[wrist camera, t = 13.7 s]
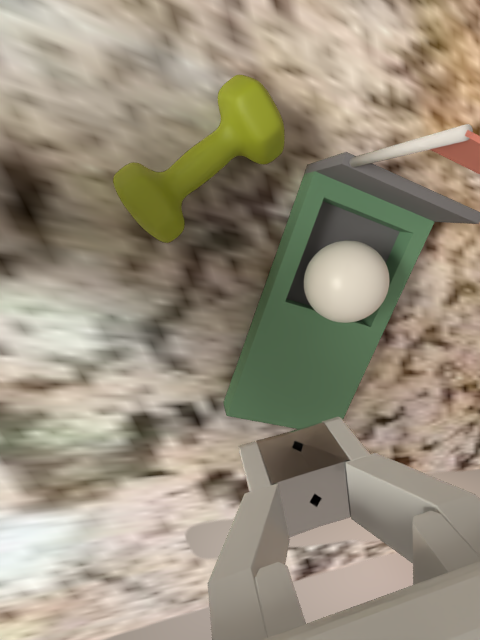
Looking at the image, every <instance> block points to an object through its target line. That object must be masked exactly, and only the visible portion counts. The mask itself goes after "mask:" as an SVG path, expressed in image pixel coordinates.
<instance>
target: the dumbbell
mask: <svg viewBox="0 0 480 640" xmlns="http://www.w3.org/2000/svg"><path fill="white" fill-rule="evenodd" d="M218 106H219V110H220V115H221V123H220V125H219V127H218V128H217V130H216V131H214V132H213V133H212V134H210V135H209V136H207V137H206V138H204V139H203V140H202V141H200V142H199V143H197V144H196V145H195V146H193V147H192V148H191V149H190V150H188V151H187V152H186V153H185V154H184V155H183V156H182V157H181V158H180V159H178V160H177V161H176V162H175V163H174V164H173V165H172V166H171V167H170V168H169V169H168V170H166V171H164V172H154V171H152V170H150V169H148V168H146V167H145V166H143V165H141V164H139V163H129V164H127V165H126V166H124V167H123V168H122V169H120V170H119V171H118V172H117V173H116V174H115V175H114V178H113V183H114V187H115V189H116V192H117V194H118V196H119V198H120V200H121V201H122V203H123V205H124V206H125V207H126V209H127V210H128V211H129V213H130V214H131V215H132V216H133V218H134V219H135V220H136V221H137V222H138V224H139V225H140V226H141V227H142V228H143V229H144V230H146V231H147V232H148V233H149V234H151V235H152V236H153V237H155V238H156V239H158V240H159V241H161V242H165V243H169V242H171V241H173V240H174V239H175V238H177V237H178V236H179V235H180V234H181V233H182V232H183V230H184V225H185V224H184V217H183V213H182V208H181V206H182V201H183V199H184V198H185V197H186V196H187V195H188V194H190V193H191V192H193V191H194V190H196V189H197V188H198V187H200V186H201V185H202V184H204V183H205V182H206V181H208V180H209V179H210V178H211V177H213V176H214V175H215V174H216V173H217V172H219V171H220V170H221V169H222V168H223V167H224V166H225V165H226V164H227V163H228V162H229V161H230V160H232V159H233V158H234V157H236V156H244V157H247V158H248V159H250V160H252V161H253V162H256V163H258V164H268V163H270V162H272V161H273V160H274V159H276V158H277V157H278V156H279V155H280V154H281V153H282V151H283V149H284V124H283V120H282V118H281V115H280V113H279V111H278V109H277V107H276V105H275V103H274V101H273V100H272V98H271V96H270V94H269V93H268V91H267V90H266V89H265V87H264V86H263V85H262V84H261V83H260V82H259V81H257V80H255V79H253V78H250V77H248V76H244V75H236V76H234V77H233V78H231V79H230V80H229V81H228V82H226V83H225V84H224V85H223V86H222V88H221V89H220V91H219V93H218Z"/></svg>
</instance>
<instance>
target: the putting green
mask: <svg viewBox="0 0 480 640" xmlns="http://www.w3.org/2000/svg"><path fill="white" fill-rule="evenodd" d="M429 149H430V150H432V151H434V152H436V153H438V154H440V155H442V156H444V157H446V158H448V159H450V160H452V161H454V162H456V163H458V164H460V165H462V166H464V167H466V168H468V169H470V170H472V171H474V172H476V173H478V174H480V136H478V135H476V134H474V133H473V129H472V127H471V125H469V124H466V125H462V126H459V127H455V128H452V129H449V130H445V131H442V132H438V133H435V134H431V135H428V136H425V137H421V138H418V139H414V140H411V141H407V142H404V143H401V144H397V145H394V146H390V147H387V148H383V149H380V150H377V151H373V152H370V153H366V154H363V155H359V156H354V155H352V154H350V153H348V152H344V153H341V154H339V155H336V156H333V157H330V158H327V159H324V160H321V161H318V162H315V163H312V164H309V165H307V168H306V171H305V174H304V176H303V179H302V182H301V185H300V188H299V190H298V193H297V196H296V199H295V202H294V205H293V207H292V210H291V213H290V216H289V219H288V222H287V224H286V227H285V230H284V233H283V236H282V239H281V241H280V244H279V247H278V250H277V253H276V256H275V258H274V261H273V264H272V267H271V270H270V272H269V275H268V278H267V281H266V284H265V287H264V289H263V292H262V295H261V298H260V301H259V304H258V306H257V309H256V312H255V315H254V318H253V321H252V323H251V326H250V329H249V332H248V335H247V338H246V340H245V343H244V346H243V349H242V352H241V355H240V357H239V360H238V363H237V366H236V369H235V371H234V374H233V377H232V380H231V383H230V386H229V388H228V391H227V394H226V397H225V400H224V407H225V411H226V415H227V416H231V417H236V418H241V419H247V420H252V421H258V422H263V423H269V424H274V425H280V426H285V427H291V428H296V429H300V428H304V427H307V426H310V425H314V424H317V423H320V422H322V421H325V420H328V419H332V418H335V417H340V418H342V420H343V418H344V416H345V414H346V412H347V409H348V407H349V405H350V403H351V401H352V399H353V396H354V394H355V392H356V390H357V388H358V386H359V384H360V381H361V379H362V377H363V375H364V373H365V371H366V368H367V366H368V364H369V362H370V360H371V358H372V356H373V353H374V351H375V349H376V347H377V345H378V343H379V340H380V338H381V336H382V334H383V332H384V330H385V328H386V325H387V323H388V321H389V319H390V317H391V315H392V312H393V310H394V308H395V306H396V304H397V302H398V299H399V297H400V295H401V293H402V291H403V289H404V287H405V284H406V282H407V280H408V278H409V276H410V274H411V271H412V269H413V267H414V265H415V263H416V261H417V259H418V256H419V254H420V252H421V250H422V248H423V246H424V243H425V241H426V239H427V237H428V235H429V233H430V230H431V228H432V226H433V224H434V222H451V223H471V224H479V222H480V212H478V211H476V210H474V209H472V208H469V207H467V206H465V205H463V204H460V203H458V202H456V201H454V200H452V199H449V198H447V197H445V196H443V195H441V194H438V193H436V192H434V191H432V190H429V189H427V188H425V187H423V186H421V185H418V184H416V183H414V182H412V181H410V180H407V179H405V178H403V177H401V176H399V175H396V174H394V173H392V172H390V171H387V170H385V169H383V168H381V167H379V166H376V165H374V164H372V163H374V162H378V161H383V160H387V159H391V158H395V157H400V156H404V155H408V154H412V153H417V152H421V151H425V150H429ZM339 241H357V242H361V243H364V244H366V245H368V246H370V247H371V248H373V249H374V250H376V251H377V252H378V253H379V254H380V255H381V257H382V258H383V260H384V261H385V263H386V265H387V268H388V272H389V288H388V292H387V295H386V298H385V299H384V301H383V303H382V304H381V306H380V307H379V308H378V309H377V310H376V311H375V312H374V313H372V314H371V315H369V316H368V317H366V318H364V319H362V320H359V321H355V322H349V323H341V322H335V321H331V320H329V319H327V318H324V317H323V316H321V315H320V314H318V313H317V312H316V311H315V310H314V309H313V308H312V306H311V305H310V303H309V302H308V300H307V297H306V294H305V291H304V275H305V271H306V268H307V266H308V264H309V262H310V261H311V259H312V258H313V257H314V256H315V254H316V253H317V252H319V251H320V250H321V249H322V248H324V247H326V246H327V245H330V244H332V243H335V242H339Z"/></svg>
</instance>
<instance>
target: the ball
mask: <svg viewBox="0 0 480 640" xmlns="http://www.w3.org/2000/svg"><path fill="white" fill-rule="evenodd" d="M388 288H389V272H388V268H387V265H386V263H385V261H384V260H383V258H382V257H381V255H380V254H379V253H378V252H377V251H376V250H374V249H373V248H371V247H370V246H368V245H366V244H364V243H361V242H357V241H339V242H335V243H332V244H330V245H327V246H326V247H324V248H322V249H321V250H320V251H319V252H317V253H316V254H315V256H314V257H313V258H312V259H311V261H310V262H309V264H308V266H307V268H306V271H305V275H304V291H305V294H306V297H307V300H308V302H309V303H310V305H311V306H312V308H313V309H314V310H315V311H316V312H317V313H318V314H320V315H321V316H323V317H324V318H327V319H329V320H331V321H335V322H341V323H349V322H355V321H359V320H362V319H364V318H366V317H368V316H369V315H371V314H372V313H374V312H375V311H376V310H377V309H378V308H379V307H380V306H381V304H382V303H383V301H384V299H385V298H386V295H387V292H388Z"/></svg>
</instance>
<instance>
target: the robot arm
mask: <svg viewBox="0 0 480 640" xmlns="http://www.w3.org/2000/svg"><path fill="white" fill-rule="evenodd" d="M239 452H240V456H241V460H242V464H243V468H244V472H245V476H246V480H247V484H248V488H249V492H248V493H245V494H244V497H243V499H242V502H241V504H240V506H239V509H238V511H237V514H236V516H235V518H234V521H233V523H232V526H231V528H230V531H229V533H228V535H227V538H226V540H225V543H224V545H223V548H222V550H221V552H220V555H219V557H218V560H217V562H216V564H215V567H214V569H213V572H212V574H211V577H210V579H209V581H208V594H209V607H210V619H211V630H212V640H480V498H478V497H477V496H476V495H475V494H473V493H471V492H468V491H466V490H464V489H461V488H459V487H456V486H454V485H452V484H449V483H447V482H444V481H442V480H440V479H437V478H435V477H432V476H430V475H428V474H425V473H423V472H420V471H418V470H416V469H413V468H411V467H408V466H406V465H404V464H401V463H399V462H396V461H394V460H392V459H389V458H387V457H384V456H382V455H380V454H377V453H374V454H370V453H369V452H368V451H367V449H366V448H365V447H364V446H363V444H362V443H361V442H360V441H359V439H358V438H357V437H356V436H355V434H354V433H353V432H352V431H351V430H350V428H349V427H348V426H347V425H346V423H345V422H344V421H343V420H342V418H340V417H335V418H332V419H328V420H325V421H322V422H320V423H317V424H314V425H310V426H307V427H304V428H300V429H297V430H294V431H290V432H287V433H283V434H279V435H276V436H272V437H268V438H264V439H261V440H257V441H256V442H255V441H254V442H251V443H247V444H243V445H240V446H239ZM349 517H351V519H352V520H354V521H355V522H356V523H358V524H359V525H361V526H362V527H364V528H365V529H366V530H367V531H369V532H371V533H372V534H373V535H374V536H376V537H377V538H378V539H380V540H381V541H383V542H384V543H385V544H387V545H388V546H389V547H391V548H392V549H394V550H395V551H396V552H398V553H399V554H401V555H402V556H403V557H405V558H406V559H407V560H409V561H410V562H411V563H413V585H412V586H409V587H407V588H404V589H401V590H399V591H396V592H393V593H390V594H387V595H385V596H382V597H379V598H376V599H374V600H371V601H368V602H366V603H363V604H360V605H357V606H354V607H351V608H349V609H346V610H343V611H340V612H338V613H335V614H332V615H329V616H327V617H324V618H321V619H318V620H315V621H313V622H310V623H307V624H306V622H305V619H304V616H303V613H302V610H301V607H300V604H299V601H298V597H297V594H296V591H295V588H294V585H293V582H292V579H291V576H290V573H289V570H288V567H287V565H285V562H286V557H287V551H288V546H289V540H290V539H289V537H292V536H294V535H297V534H300V533H303V532H306V531H308V530H311V529H314V528H317V527H319V526H323V525H326V524H329V523H333V522H336V521H340V520H343V519H346V518H349Z"/></svg>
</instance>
